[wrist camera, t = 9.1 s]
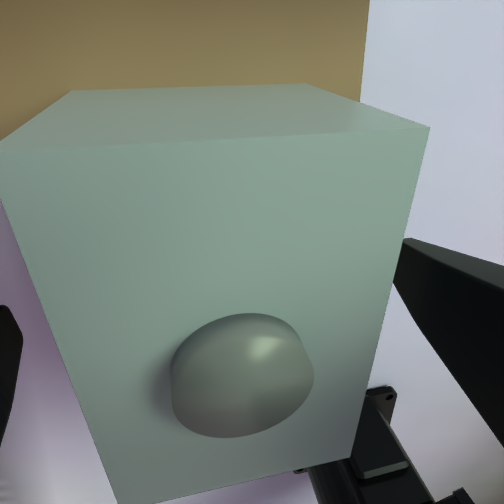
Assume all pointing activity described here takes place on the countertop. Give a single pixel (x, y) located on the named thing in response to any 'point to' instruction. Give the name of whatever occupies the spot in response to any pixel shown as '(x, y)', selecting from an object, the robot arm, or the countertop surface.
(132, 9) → the walnut stand
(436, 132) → the countertop surface
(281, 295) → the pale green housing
